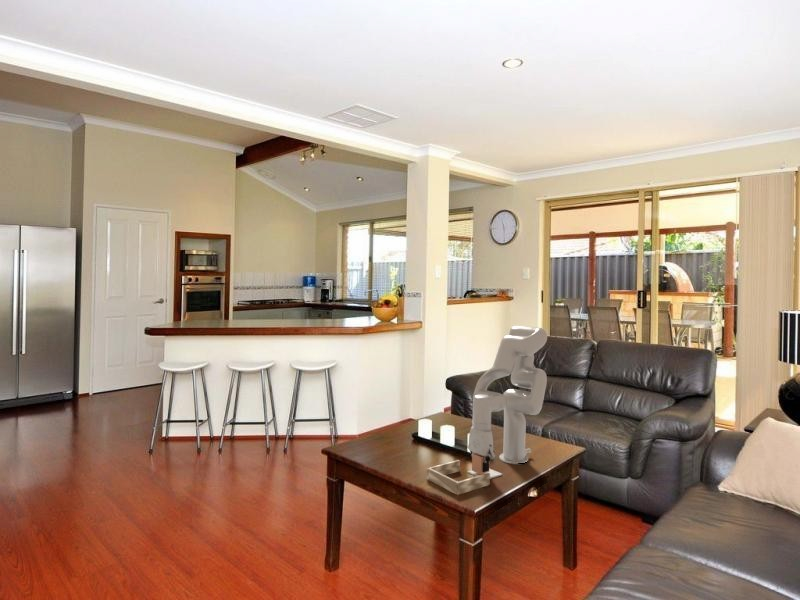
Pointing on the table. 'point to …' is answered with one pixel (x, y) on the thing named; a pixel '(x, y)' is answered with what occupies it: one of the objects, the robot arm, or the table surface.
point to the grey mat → (492, 473)
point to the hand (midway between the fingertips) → (480, 468)
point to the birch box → (439, 478)
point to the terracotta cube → (478, 463)
